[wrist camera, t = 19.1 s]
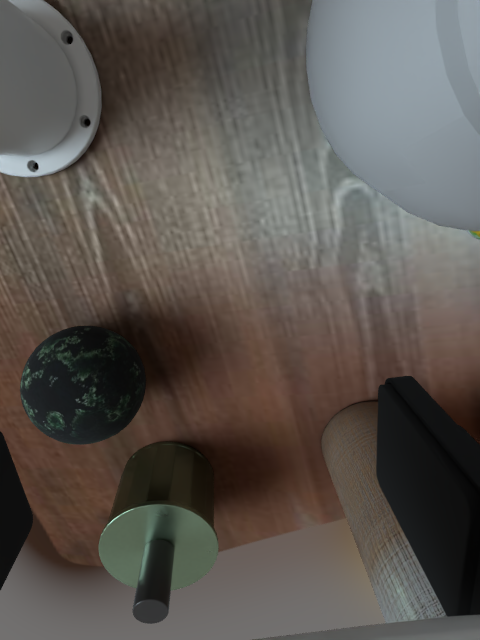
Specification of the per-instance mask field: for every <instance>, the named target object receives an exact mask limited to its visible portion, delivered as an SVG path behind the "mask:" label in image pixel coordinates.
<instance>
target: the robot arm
mask: <svg viewBox="0 0 480 640" xmlns="http://www.w3.org/2000/svg"><path fill="white" fill-rule="evenodd" d="M70 37H72V38H73V42H72V43H71V44H68V38H70ZM101 109H102V100H101V86H100V81H99V76H98V72H97V69H96V66H95V63H94V61H93V58H92V55H91V53H90V52H89V50H88V48H87V46H86V44H85V43H84V41H83V39H82V37H81V36H80V35H79V34H78V32H77V31H76V30H75V29H74V27H73V26H72V25H71V24H70V22H69V21H68V20H66V19H65V18H64V17H63V16H62V15H61V14H60V12H58V11H57V10H56V9H55V8H53V7H52V6H51V5H49V4H48V3H47V2H45V1H44V0H0V172H2V173H5V174H8V175H13V176H20V177H38V176H45V175H51V174H53V173H56V172H59V171H61V170H64V169H65V168H67V167H68V166H70V165H71V164H73V163H74V162H76V161H77V160H78V159H79V158H80V157H81V156H82V155H83V154H84V153H85V152H86V150H87V149H88V147H89V145H90V144H91V142H92V141H93V139H94V137H95V134H96V131H97V128H98V125H99V121H100V115H101ZM87 119H89V120H90V125H89V126H86V124H85V121H86V120H87ZM35 163H37V164H38V165H39V169H36V168H35ZM376 474H377V479H378V483H379V485H380V488H381V490H382V492H383V493H384V495H385V497H386V499H387V501H388V503H389V505H390V507H391V509H392V511H393V513H394V515H395V517H396V519H397V521H398V523H399V525H400V526H401V528H402V530H403V532H404V534H405V536H406V538H407V540H408V542H409V544H410V546H411V548H412V550H413V552H414V554H415V556H416V557H417V559H418V561H419V563H420V565H421V567H422V569H423V571H424V573H425V575H426V577H427V579H428V581H429V583H430V585H431V587H432V589H433V590H434V592H435V594H436V596H437V598H438V600H439V602H440V604H441V606H442V608H443V610H444V612H445V614H446V616H447V617H442V618H433V619H423V620H414V621H404V622H394V623H385V624H376V625H366V626H358V627H350V628H342V629H334V630H327V631H319V632H311V633H302V634H295V635H286V636H278V637H270V638H262V639H254V640H480V445H479V444H478V443H477V442H476V441H475V440H474V439H473V438H472V437H471V436H470V434H469V433H468V432H467V431H466V430H465V429H463V428H462V427H461V426H459V425H457V424H456V423H455V422H454V421H453V420H452V419H451V418H450V416H449V415H448V414H447V413H446V412H445V411H444V410H443V409H442V408H441V407H440V406H439V405H438V404H437V403H436V402H435V400H434V399H433V398H432V397H431V396H430V395H429V394H428V393H427V392H426V391H425V390H424V389H423V388H422V387H421V385H420V384H419V383H418V382H417V381H416V380H415V379H414V378H413V377H412V376H403V377H395V378H388V379H386V381H385V385H380V386H379V390H378V421H377V457H376ZM32 523H33V515H32V511H31V508H30V506H29V503H28V500H27V498H26V495H25V492H24V490H23V487H22V484H21V482H20V479H19V476H18V473H17V471H16V468H15V465H14V463H13V460H12V457H11V455H10V452H9V449H8V447H7V444H6V441H5V439H4V436H3V434H2V433H1V432H0V590H1V588H2V586H3V584H4V582H5V580H6V578H7V576H8V574H9V572H10V570H11V568H12V566H13V564H14V562H15V560H16V558H17V556H18V554H19V552H20V550H21V548H22V546H23V544H24V542H25V540H26V538H27V536H28V534H29V532H30V530H31V527H32Z"/></svg>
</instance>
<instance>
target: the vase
mask: <svg viewBox="0 0 480 640" xmlns="http://www.w3.org/2000/svg"><path fill="white" fill-rule="evenodd" d="M306 69H307V76H308V82H309V89H310V96H311V101H312V104H313V107H314V110H315V112H316V115H317V118H318V121H319V124H320V127H321V129H322V131H323V133H324V135H325V136H326V138H327V140H328V142H329V143H330V145H331V147H332V149H333V150H334V152H335V154H336V155H337V156H338V157H339V158H340V159H341V160H342V162H343V163H344V164H345V165H346V166H347V167H348V168H349V169H350V170H351V172H352V173H353V174H354V175H356V176H357V177H358V178H360V179H361V180H363V181H364V182H365V183H367V184H368V185H370V186H371V187H373V188H374V189H375V190H377V191H378V192H380V193H381V194H382V195H384V196H385V197H387V198H388V199H389V200H391V201H392V202H394V203H395V204H397V205H398V206H399V207H401V208H402V209H404V210H405V211H406V212H408V213H410V214H412V215H415V216H417V217H420V218H422V219H425V220H427V221H430V222H432V223H435V224H437V225H439V226H445V227H451V228H457V229H463V230H469V231H480V0H312V6H311V11H310V16H309V22H308V27H307V47H306Z"/></svg>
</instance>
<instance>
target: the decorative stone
mask: <svg viewBox="0 0 480 640" xmlns="http://www.w3.org/2000/svg"><path fill="white" fill-rule="evenodd" d="M145 386H146V377H145V370H144V366H143V363H142V361H141V359H140V357H139V355H138V353H137V351H136V350H135V348H134V347H133V346H132V345H131V344H130V343H129V342H128V341H127V340H126V339H125V338H123V337H122V336H120V335H119V334H117V333H115V332H113V331H110V330H108V329H105V328H101V327H96V326H77V327H71V328H68V329H65V330H62V331H60V332H58V333H56V334H54V335H52V336H50V337H49V338H47V339H46V340H45V341H43V342H42V343H41V344H40V345H39V346H38V347H37V348H36V349H35V350H34V352H33V353H32V354H31V356H30V357H29V359H28V361H27V363H26V365H25V368H24V371H23V374H22V378H21V385H20V392H21V400H22V404H23V407H24V409H25V411H26V413H27V415H28V417H29V418H30V420H31V421H32V423H33V424H34V425H35V426H36V427H37V428H38V429H39V430H40V431H42V432H43V433H44V434H46V435H47V436H49V437H51V438H53V439H55V440H58V441H60V442H64V443H68V444H90V443H95V442H99V441H102V440H105V439H107V438H109V437H111V436H114V435H116V434H117V433H119V432H120V431H121V430H123V429H124V428H125V427H126V426H127V425H128V424H129V423H130V422H131V420H132V419H133V418H134V416H135V415H136V413H137V412H138V410H139V408H140V406H141V403H142V401H143V397H144V393H145Z"/></svg>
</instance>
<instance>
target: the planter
mask: <svg viewBox="0 0 480 640" xmlns="http://www.w3.org/2000/svg"><path fill="white" fill-rule="evenodd" d="M377 421H378V402H374V401H370V402H361V403H357V404H354V405H351V406H349V407H347V408H345V409H343V410H342V411H340V412H339V413H338V414H336V415H335V416H334V417H333V418H332V419H331V420H330V422H329V423H328V424H327V426H326V428H325V430H324V432H323V435H322V440H321V448H322V453H323V456H324V459H325V463H326V465H327V468H328V470H329V473H330V476H331V478H332V481H333V484H334V486H335V489H336V492H337V494H338V497H339V500H340V502H341V505H342V508H343V510H344V513H345V516H346V518H347V521H348V524H349V526H350V529H351V532H352V534H353V537H354V540H355V542H356V545H357V548H358V550H359V553H360V556H361V558H362V561H363V563H364V566H365V569H366V571H367V574H368V577H369V579H370V582H371V585H372V587H373V590H374V593H375V595H376V598H377V600H378V603H379V606H380V609H381V611H382V614H383V617H384V619H385V622H386V623H394V622H404V621H414V620H423V619H433V618H442V617H447V616H446V614H445V612H444V610H443V608H442V606H441V604H440V602H439V600H438V598H437V596H436V594H435V592H434V590H433V589H432V587H431V585H430V583H429V581H428V579H427V577H426V575H425V573H424V571H423V569H422V567H421V565H420V563H419V561H418V559H417V557H416V556H415V554H414V552H413V550H412V548H411V546H410V544H409V542H408V540H407V538H406V536H405V534H404V532H403V530H402V528H401V526H400V525H399V523H398V521H397V519H396V517H395V515H394V513H393V511H392V509H391V507H390V505H389V503H388V501H387V499H386V497H385V495H384V493H383V492H382V490H381V488H380V485H379V483H378V479H377V474H376V457H377Z"/></svg>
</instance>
